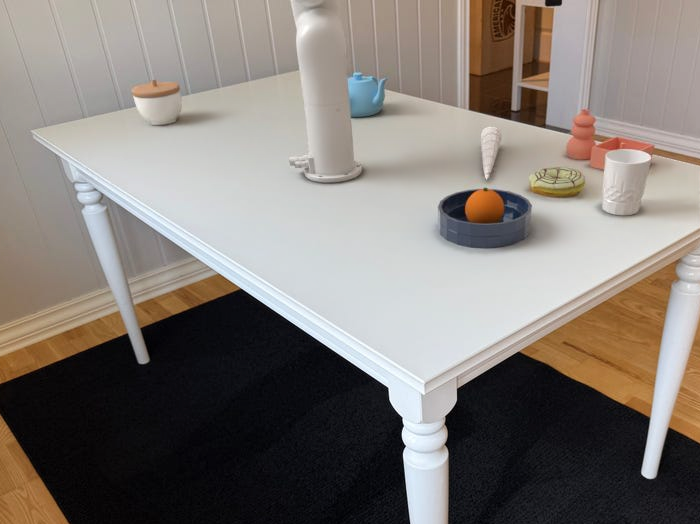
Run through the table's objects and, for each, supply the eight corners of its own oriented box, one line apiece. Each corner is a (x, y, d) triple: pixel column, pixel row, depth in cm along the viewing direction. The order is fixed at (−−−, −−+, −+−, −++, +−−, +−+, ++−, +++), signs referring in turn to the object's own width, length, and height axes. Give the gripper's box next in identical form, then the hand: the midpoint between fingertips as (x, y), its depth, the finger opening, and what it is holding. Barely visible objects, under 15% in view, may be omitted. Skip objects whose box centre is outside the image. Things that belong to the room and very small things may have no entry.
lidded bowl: (196, 118, 191) (187, 76, 184) (161, 130, 182) (150, 87, 176) (165, 113, 196) (155, 72, 190) (129, 124, 188) (118, 82, 181)
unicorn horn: (468, 181, 142) (469, 158, 140) (480, 145, 161) (481, 125, 159) (491, 182, 141) (492, 159, 139) (501, 146, 160) (502, 125, 158)
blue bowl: (446, 254, 115) (446, 228, 112) (432, 216, 128) (432, 192, 125) (540, 247, 116) (542, 220, 113) (517, 210, 129) (518, 185, 126)
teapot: (383, 103, 196) (381, 65, 190) (390, 117, 184) (388, 77, 178) (332, 107, 194) (329, 69, 189) (336, 122, 182) (332, 81, 176)
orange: (468, 237, 119) (469, 197, 114) (461, 222, 124) (462, 182, 120) (507, 234, 119) (509, 193, 115) (498, 219, 125) (500, 179, 120)
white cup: (635, 220, 123) (644, 166, 118) (592, 212, 127) (599, 159, 121) (647, 205, 129) (656, 152, 123) (606, 198, 132) (613, 146, 126)
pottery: (651, 164, 147) (659, 117, 141) (626, 175, 141) (634, 127, 136) (580, 147, 158) (585, 103, 152) (555, 157, 153) (559, 112, 147)
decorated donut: (533, 180, 142) (534, 162, 140) (586, 184, 139) (588, 165, 137) (524, 198, 134) (525, 179, 131) (580, 203, 131) (582, 184, 128)
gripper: (521, -102, 132) (516, -2, 142) (547, -101, 118) (539, 10, 127) (559, -104, 132) (552, -5, 142) (589, -103, 118) (578, 7, 128)
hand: (546, 2), depth 135 cm, fingers open, 9 cm apart
